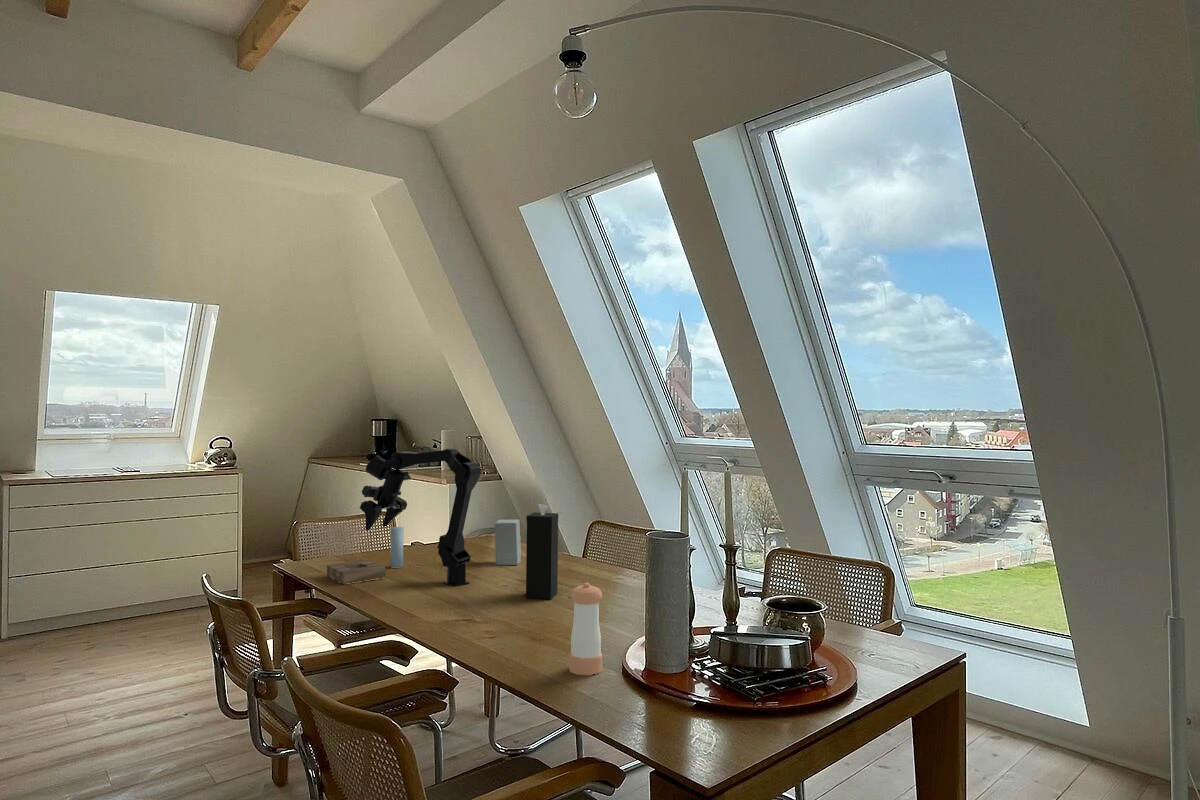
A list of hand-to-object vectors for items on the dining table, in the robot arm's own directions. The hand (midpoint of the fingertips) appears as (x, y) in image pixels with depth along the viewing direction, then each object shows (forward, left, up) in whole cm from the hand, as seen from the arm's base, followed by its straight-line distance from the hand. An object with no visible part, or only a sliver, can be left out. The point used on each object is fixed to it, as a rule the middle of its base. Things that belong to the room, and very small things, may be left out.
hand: (375, 528), depth 261 cm
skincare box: (-13, -45, -16) cm, 49 cm away
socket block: (-1, +7, -16) cm, 17 cm away
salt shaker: (-116, +4, -16) cm, 117 cm away
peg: (+6, -11, -16) cm, 20 cm away
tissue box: (-58, -27, -16) cm, 66 cm away
